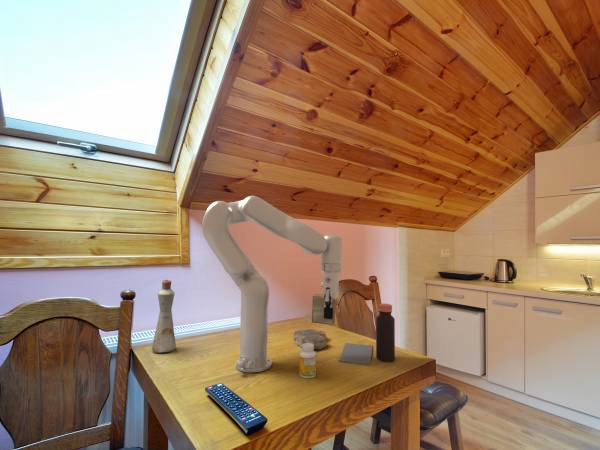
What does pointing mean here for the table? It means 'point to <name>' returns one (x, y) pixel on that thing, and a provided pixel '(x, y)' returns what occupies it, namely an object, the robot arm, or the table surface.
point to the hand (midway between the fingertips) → (329, 316)
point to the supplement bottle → (307, 361)
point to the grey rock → (310, 338)
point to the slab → (321, 310)
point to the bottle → (165, 321)
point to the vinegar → (385, 334)
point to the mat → (356, 354)
